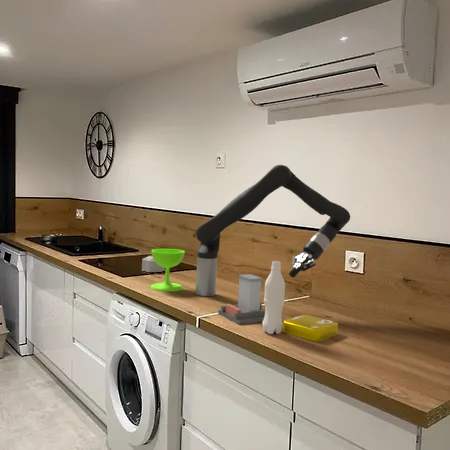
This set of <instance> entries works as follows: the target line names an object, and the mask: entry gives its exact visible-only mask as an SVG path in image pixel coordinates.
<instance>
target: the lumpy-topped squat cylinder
mask: <svg viewBox="0 0 450 450" xmlns="http://www.w3.org/2000/svg"><path fill="white" fill-rule="evenodd" d="M141 262H142V263H141V272H142V271H146V272H162V271H165V270H166V267H162V266H160V265H159V264H157V263H156V262H155V260H154V259H153V256H152V255H148V256H146V257H144V258H142V261H141ZM146 272H145V273H146ZM162 273H163V272H162Z"/></svg>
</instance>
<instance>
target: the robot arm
mask: <svg viewBox="0 0 450 450" xmlns="http://www.w3.org/2000/svg"><path fill="white" fill-rule="evenodd" d="M281 187H283V188H284V189H286V190H288V191H290V192H291V193H293V194H294V195H296V196H297V198H298V199H300V200H301V201H302V202H303V203H304V204H306V205H307V206H308V207H309V208H311V209H312V210H313V211H315V212H316V213H317V214H319V215H321V216H325V215H326V216H328V217H329V218H328V220H327V221H326V222H325V223H324V225H322V226H321V227H319V228H320V229H319V230H317V232H316V233H315V234H314V235H313V236H312V237H311V238H310V239H309V240H308V241H307V243H306V244H305V245H304V246H303V248H302V250H303V251H302V252H301V253H300V254H299V255H297V256H296V255H293V257H292V264H291V265H292V269H291V270H290V272H289V273H288V275H289V276H290V278H293V279H294V278H295V277H296V276H297V275H298V274H299V273H300V272H301V273H302V272H305V271H307V270H309V269H312V268H313V267H315V266H316V265H317V264H316V263H315V260H316V261H317V260H318V259H319V258H320V257H321V256H322V255H323V253H324V252H325V251H326V250H327V248H328V247H329V245H330V244H331V243H332V242H333V240H334V239H336V237H337V234H338V233H339V232H340V231H341V230H342V229H343V228H344V227H346V224H348V223H349V221H350V219H351V214H350V212H349V210H347V208H345V207H343V206H342V205H339V204H337V203H335V202H332V201H331V200H329V199H327V198H326V197H325V196H323V195H322V194H321V193H319V192H318V191H317V190H315V189H313V188H311V187H310V186H309V185H308V184H306V183H305V182H304V181H302V180H301V179H300V178H299V177H297V175H295V173H294V172H292V171H291V169H290V168H289V167H288V166H287V165H283V164H277V165H274V166H273V167H271V168H270V170H269V171H268V172H267V173H266V174H264V176H263V177H262V178H260V179H259V180H258V181H257V182H256V183H254V184H253V185H251V186H250V187H248V188H247V189H245V190H244V191H242V192H241V193H239V194H238V195H237V196H236V197H235V198H233V199H232V200H231V201H230V202H229V203H228V204H227V205H225V206H224V207H223V208H222V209H221V210H220V211H218V213H216V215H214V216H213V217H211V218H210V219H208V220H206V221H205V222H203V223H202V224H200V225H199V226H198V227H197V229H196V231H195V236H196V239H197V241H199V242H200V245H199V249H198V250H197V256H196V257H197V258H196V259H197V260H196V274H195V275H196V276H195V292H194V293H195V295H197V296H200V297H214V296H216V290H217V271H218V269H217V268H218V254H219V251H220V241H221V233H222V232H223V231H224V230H226V228H228V227H230V226H232V225H233V224H235V223H237V222H238V221H240V220H242V219H244V218H245V217H246V216H248V215H249V214H251V213H252V212H253V211H254V210H255V209H256V208H258V206H259V205H260V204H261V203H262V202H263V201H264V200H265V198H267V197H268V196H269V195H270V194H272V193H273V192H275V191H277V189H280V188H281Z"/></svg>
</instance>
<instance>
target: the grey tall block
mask: <svg viewBox="0 0 450 450" xmlns="http://www.w3.org/2000/svg"><path fill="white" fill-rule="evenodd" d="M238 280H239V281H238V297H237V298H238V299H237V305H238V308H239V309H241V310H242V312H250V311H260V303H261V293H262V292H261V291H262V282H263V278H262V277H260V276H256V275H253V274H251V273H249V274H248V273H247V274H238Z"/></svg>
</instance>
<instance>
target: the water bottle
mask: <svg viewBox="0 0 450 450" xmlns="http://www.w3.org/2000/svg"><path fill="white" fill-rule="evenodd" d="M281 265H282V262H281V261H278V260H273V261H271V267H270V273H269V275H268V276H267V278H266V280H265V282H264V298H263V304H264V307H265V309H264V310H265V317H264V320H263V322H261V323H262V329H263V332H264V333H267V334H268V335H273V334H274V333H275V334H276V335H280V334H281V333H282V332H283V319H282V313H283V309H284V305H285V293H286V291H285V290H286V281H285V279H284V276H283V275H282V271H281V270H282V267H281Z"/></svg>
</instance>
